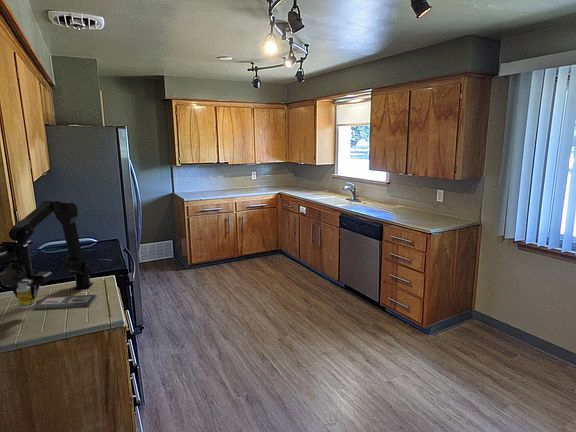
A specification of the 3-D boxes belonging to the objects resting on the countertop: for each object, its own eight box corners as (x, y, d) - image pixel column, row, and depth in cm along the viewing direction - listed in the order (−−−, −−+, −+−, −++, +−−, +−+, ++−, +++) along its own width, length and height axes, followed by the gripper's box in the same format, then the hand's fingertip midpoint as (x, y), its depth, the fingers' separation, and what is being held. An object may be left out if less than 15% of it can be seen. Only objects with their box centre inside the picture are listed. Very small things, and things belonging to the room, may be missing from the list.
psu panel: (45, 300, 158) (45, 296, 157) (96, 297, 160) (96, 294, 160) (34, 309, 149) (34, 306, 149) (88, 306, 152) (88, 303, 151)
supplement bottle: (36, 301, 145) (32, 277, 144) (36, 306, 141) (32, 282, 139) (19, 304, 143) (15, 280, 141) (18, 309, 138) (14, 285, 136)
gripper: (-23, 266, 131) (-16, 308, 134) (30, 266, 130) (36, 309, 133) (2, 256, 141) (8, 295, 145) (51, 256, 141) (56, 295, 144)
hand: (26, 299), depth 141 cm, fingers closed on supplement bottle, 5 cm apart
